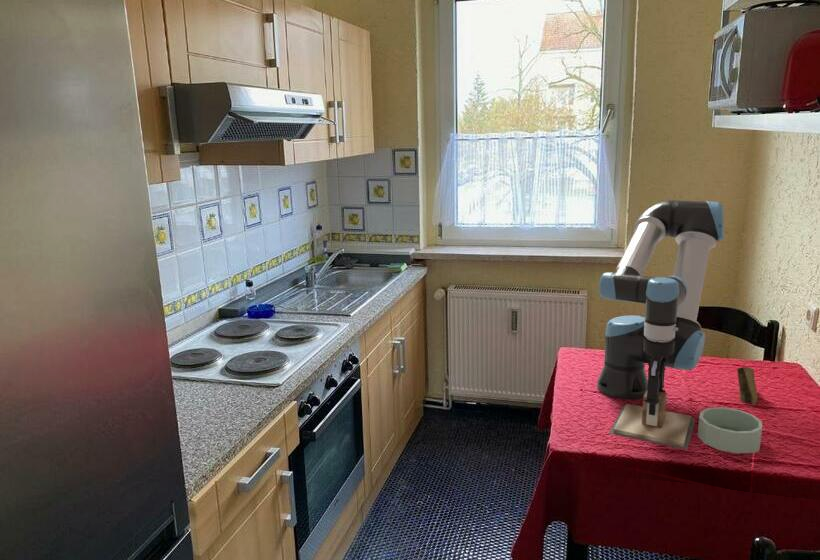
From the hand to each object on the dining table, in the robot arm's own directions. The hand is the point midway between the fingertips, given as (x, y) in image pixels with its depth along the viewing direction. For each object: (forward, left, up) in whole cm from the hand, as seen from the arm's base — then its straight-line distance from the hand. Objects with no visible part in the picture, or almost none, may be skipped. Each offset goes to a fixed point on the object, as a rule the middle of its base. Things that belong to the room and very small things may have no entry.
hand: (653, 420), depth 164 cm
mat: (0, 0, -2) cm, 2 cm away
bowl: (+18, +1, -2) cm, 18 cm away
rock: (+22, +33, -3) cm, 40 cm away
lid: (0, 0, -2) cm, 2 cm away
